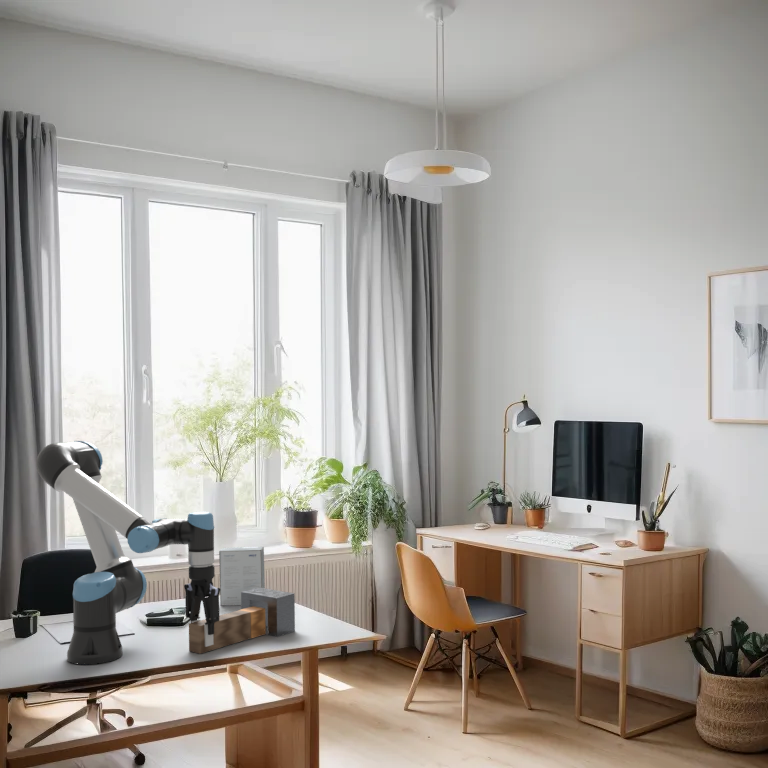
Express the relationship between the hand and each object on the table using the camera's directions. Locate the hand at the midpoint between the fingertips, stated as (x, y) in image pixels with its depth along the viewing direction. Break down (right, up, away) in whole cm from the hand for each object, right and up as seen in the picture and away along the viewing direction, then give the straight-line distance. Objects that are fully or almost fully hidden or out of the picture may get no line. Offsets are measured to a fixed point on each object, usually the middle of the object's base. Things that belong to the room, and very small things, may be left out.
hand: (202, 643), depth 257 cm
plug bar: (+6, -2, +8) cm, 10 cm away
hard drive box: (+2, -3, +61) cm, 61 cm away
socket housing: (+16, -2, +22) cm, 27 cm away
